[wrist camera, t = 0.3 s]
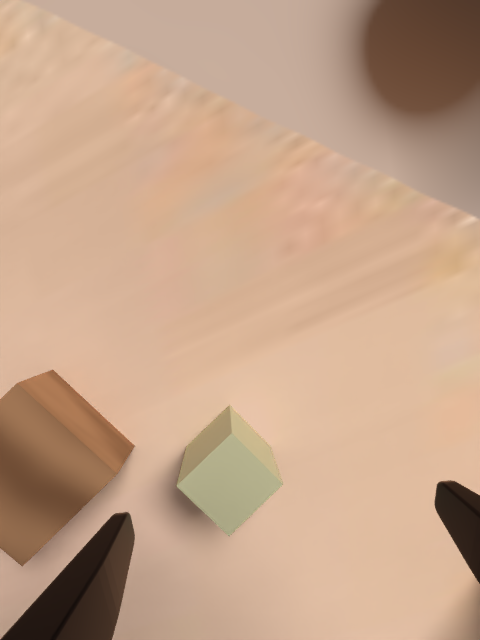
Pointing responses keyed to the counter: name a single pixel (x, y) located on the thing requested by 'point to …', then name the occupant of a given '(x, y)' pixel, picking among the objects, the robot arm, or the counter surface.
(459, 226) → the counter surface
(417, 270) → the counter surface
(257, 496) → the green cube
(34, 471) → the walnut block
